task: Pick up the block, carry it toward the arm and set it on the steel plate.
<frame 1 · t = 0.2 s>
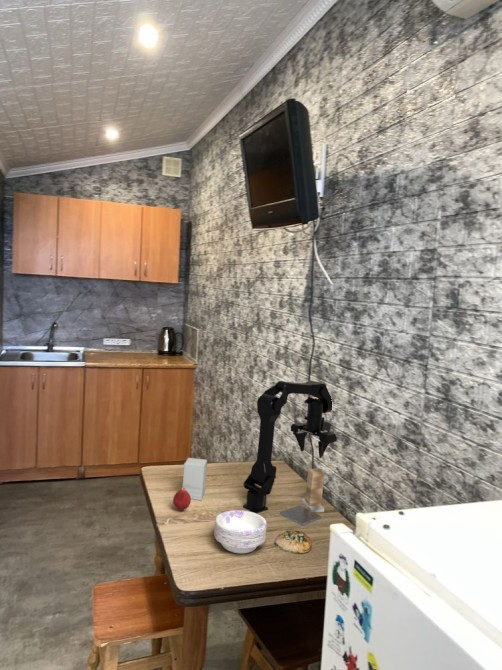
hand: (311, 454, 191), 15 cm above the table, tool pointing down, fingers open, 9 cm apart
bread roll: (293, 546, 150), on the table
paper bowls: (238, 546, 147), on the table
supplement box: (193, 496, 180), on the table
red pointed oval piece: (181, 511, 166), on the table
steel plate: (300, 516, 170), on the table
block: (312, 506, 179), on the table
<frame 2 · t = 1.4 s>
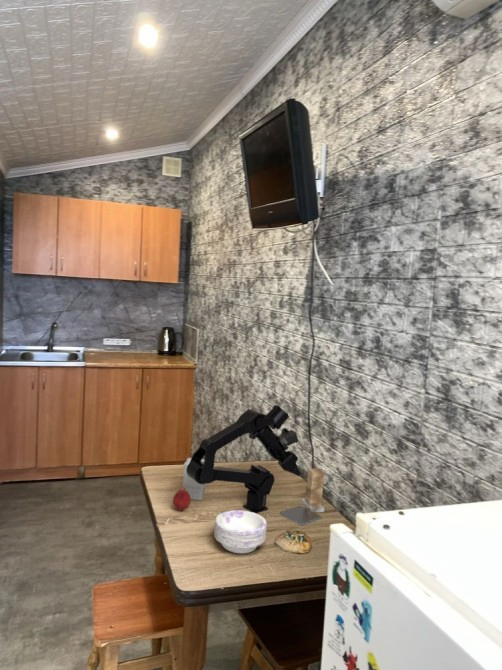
hand: (295, 470, 176), 13 cm above the table, tool tilted 45°, fingers open, 9 cm apart
nothing on the table moved.
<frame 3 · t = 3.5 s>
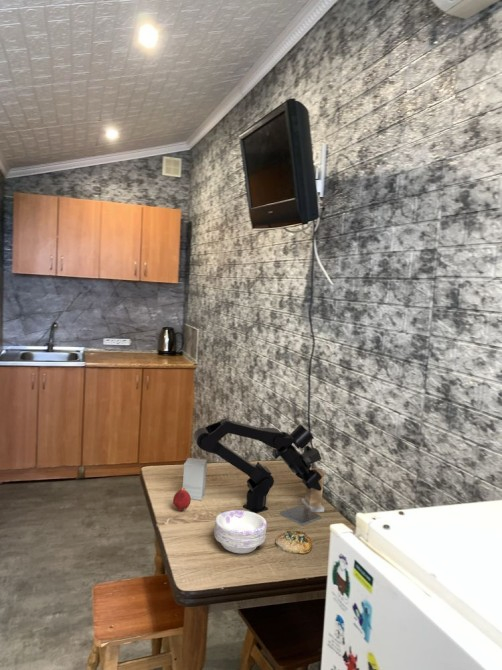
hand: (318, 487, 179), 7 cm above the table, tool tilted 45°, fingers closed on block, 4 cm apart
block: (312, 506, 179), on the table, touching gripper
everything else where it was.
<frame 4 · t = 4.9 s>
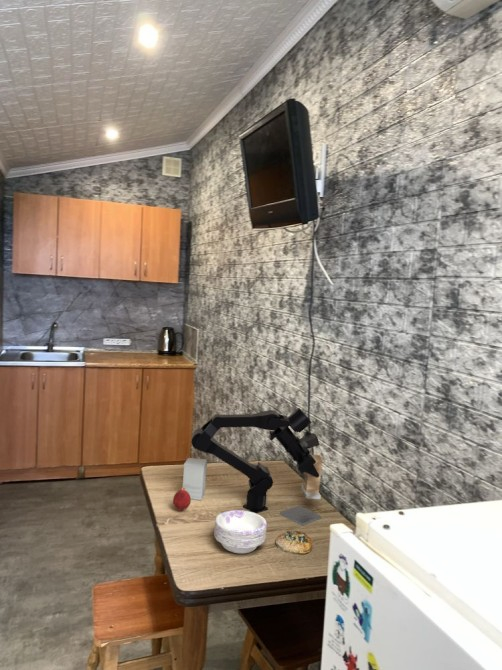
hand: (316, 474, 174), 13 cm above the table, tool tilted 45°, fingers closed on block, 4 cm apart
block: (310, 493, 175), point 6 cm above the table, touching gripper
everything else where it was.
when the fingers open (9 cm above the table, at t = 6.5 s): block drops 1 cm, resting on steel plate.
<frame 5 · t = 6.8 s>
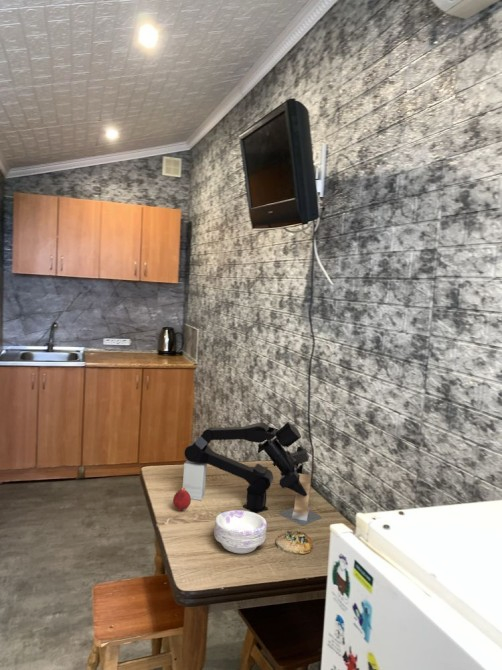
hand: (307, 491, 169), 9 cm above the table, tool tilted 45°, fingers open, 7 cm apart
block: (300, 513, 170), point 1 cm above the table, touching steel plate
everything else where it was.
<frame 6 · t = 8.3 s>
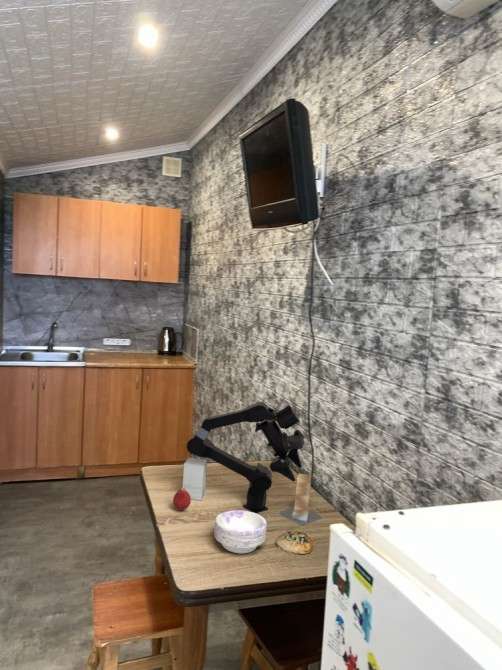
hand: (297, 473, 172), 14 cm above the table, tool tilted 35°, fingers open, 9 cm apart
nothing on the table moved.
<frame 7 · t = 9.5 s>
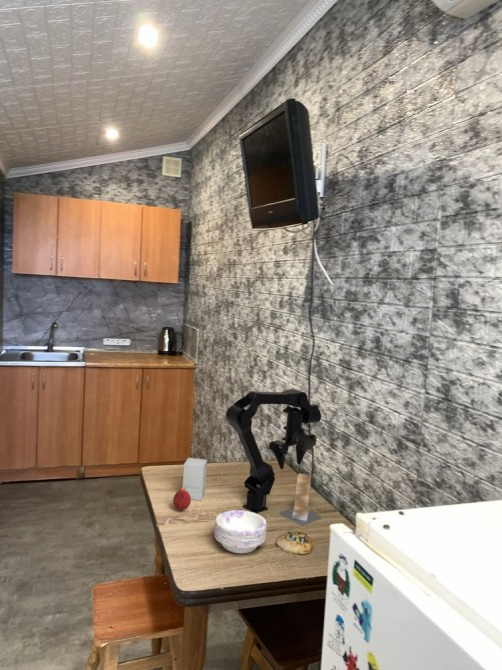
hand: (290, 466, 181), 13 cm above the table, tool pointing down, fingers open, 9 cm apart
nothing on the table moved.
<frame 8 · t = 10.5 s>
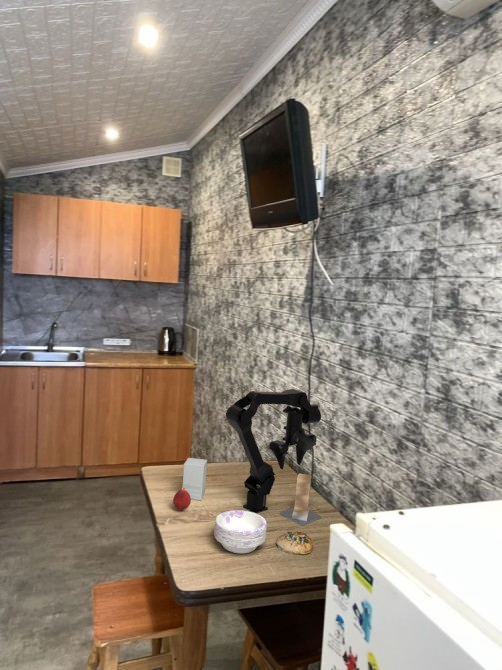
hand: (290, 466, 181), 13 cm above the table, tool pointing down, fingers open, 9 cm apart
nothing on the table moved.
at the end: block 0.0 cm from the steel plate (horizontally); block tilted 0°; the gripper is holding nothing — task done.
